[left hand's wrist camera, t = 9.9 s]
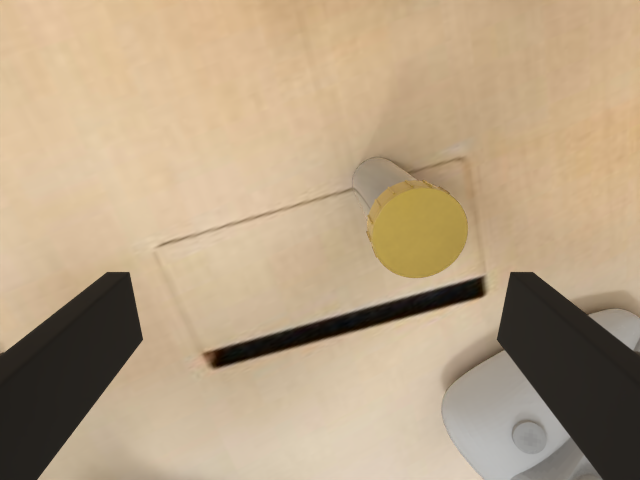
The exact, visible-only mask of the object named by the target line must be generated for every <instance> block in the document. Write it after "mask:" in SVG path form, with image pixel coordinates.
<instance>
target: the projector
mask: <svg viewBox="0 0 640 480" xmlns="http://www.w3.org/2000/svg"><path fill="white" fill-rule="evenodd" d="M588 316H589V317H591V318H592V319H593V320H595V321H596V322H597V323H598V324H600V325H601V326H602V327H603V328H605V329H606V330H607V331H609V332H610V333H611V334H612V335H614V336H615V337H616V338H618V339H619V340H620V341H621V342H623V343H624V344H625V345H626V346H628V347H629V348H630V349H632V350H633V351H638V352H640V318H639V317H638V316H637V315H635V314H633V313H631V312H629V311H626V310H623V309H608V310H603V311H599V312H596V313H592V314H589V315H588ZM441 412H442V418H443V422H444V424H445V427H446V430H447V432H448V434H449V436H450V438H451V440H452V441H453V443H454V445H455V446H456V448H457V449H458V450H459V452H460V453H461V454H462V456H463V457H464V458H465V459H466V461H467V462H468V463H469V464H470V465H471V466H472V468H473V469H474V470H475V471H476V472H477V473H478V474H479V475H480V476H481V477H482V478H483V479H484V480H603V479H602V478H601V476H600V475H599V474H598V473H597V471H596V470H595V469H594V467H593V466H592V465H591V463H590V462H589V461H588V459H587V458H586V457H585V455H584V454H583V453H582V451H581V450H580V449H579V447H578V446H577V445H576V443H575V442H574V441H573V439H572V438H571V437H570V435H569V434H568V433H567V432H566V430H565V429H564V428H563V426H562V425H561V424H560V422H559V421H558V420H557V418H556V417H555V416H554V414H553V413H552V412H551V410H550V409H549V408H548V406H547V405H546V404H545V402H544V401H543V400H542V398H541V397H540V396H539V394H538V393H537V392H536V391H535V389H534V388H533V387H532V385H531V384H530V383H529V381H528V380H527V379H526V377H525V376H524V375H523V373H522V372H521V371H520V369H519V368H518V367H517V365H516V364H515V363H514V361H513V360H512V359H511V357H510V356H509V355H508V353H507V352H506V351H505V350H503V351H501V352H499V353H498V354H496V355H494V356H492V357H491V358H489V359H487V360H485V361H484V362H482V363H481V364H479V365H477V366H476V367H474V368H473V369H471V370H470V371H468V372H467V373H465V374H464V375H463V376H461V377H460V378H459V379H457V380H456V381H455V382H454V383H453V384H452V385H451V386H450V387H449V388H448V390H447V391H446V393H445V395H444V398H443V400H442V407H441Z"/></svg>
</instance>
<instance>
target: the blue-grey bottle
mask: <svg viewBox="0 0 640 480" xmlns="http://www.w3.org/2000/svg"><path fill="white" fill-rule="evenodd" d="M405 180H407V181H410V180H417V179H416V178H414V177H413V176H411V175H410V174H409V173H407V172H406V171H404V170H403V169H401V168H400V167H398V166H397V165H396V164H394V163H393V162H391V161H390V160H388V159H385V158H380V157H376V158H371V159H368V160H366V161H364V162H363V163H362V164H360V165H359V167H358V168H357V169H356V171H355V173H354V175H353V180H352V186H353V190H354V193H355V195H356V197H357V200H358V202H359V204H360V206H361V209H362V211H363V213H364V215H365V218H366V220H367V221H368V217H367V215H369V212H370V209H371V207H372V205H373V203H374V202H375V201H374V200H375V199H377V198H378V197H379V196H380V195H381V193H383V192H384V191H385V190H386V189H388V187H391V186H393V185H395V184H397V183H400V182H404V181H405Z"/></svg>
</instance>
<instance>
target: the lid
mask: <svg viewBox="0 0 640 480" xmlns="http://www.w3.org/2000/svg"><path fill="white" fill-rule="evenodd" d="M449 194H450V193H449V192H447V191H446V190H444V189H443V188H441V187H437V186H435V185H433V184H431V183H428V182H427V181H425V180H423V181H419V180H410V181H407V180H405V181H404V182H400V183H397V184H395V185H393V186H391V187H388V189H386V190H385V191H384V192H383V193H381V195H380V196H379V197H378V198H377V199H375V200H374V201H375V202H374V203H373V205H372V207H371V209H370V212H369V215H367V217H368V221H367V230H368V231H366V232H367V235H368V238H369V240H370V242H371V244H372V248H373V250H374V253H375V255H376V257H378V259H379V260H380V262H381V263H382V264H383V265H384V266H385V267H386V268H387V269H388V270H390V271H392V272H393V273H395V274H398V275H400V276H403V277H409V278H423V277H428V276H431V275H434V274H437V273H439V272H441V271H442V270H444V269H446V268H447V267H448V266H450V265H451V264H452V263H453V262H454V261H455V260H456V259H457V257H458V256H459V255H460V253H461V252H462V250H463V248H464V245H465V243H466V239H467V234H468V223H467V218H466V215H465V212H464V210H463V208H462V207H461V205H460V204H459V203H458V201H456V200H455V199H454V198H453V197H452V196H451V195H449Z"/></svg>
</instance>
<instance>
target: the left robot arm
mask: <svg viewBox="0 0 640 480" xmlns="http://www.w3.org/2000/svg"><path fill="white" fill-rule="evenodd" d="M142 340H143V337H142V332H141V327H140V322H139V317H138V312H137V307H136V302H135V297H134V292H133V287H132V282H131V278H130V273H129V272H107V273H105V274H104V275H103V276H102V277H100V278H99V279H98V280H97V281H95V282H94V283H93V284H91V285H90V286H89V287H88V288H86V289H85V290H84V291H83V292H81V293H80V294H79V295H77V296H76V297H75V298H74V299H72V300H71V301H70V302H68V303H67V304H66V305H65V306H63V307H62V308H61V309H60V310H58V311H57V312H56V313H54V314H53V315H52V316H51V317H49V318H48V319H47V320H45V321H44V322H43V323H42V324H40V325H39V326H38V327H37V328H35V329H34V330H33V331H31V332H30V333H29V334H28V335H26V336H25V337H24V338H22V339H21V340H20V341H19V342H17V343H16V344H15V345H14V346H12V347H11V348H10V349H8V350H7V351H6V352H5V353H1V354H0V480H37V479H38V478H39V476H40V475H41V474H42V473H43V471H44V470H45V469H46V467H47V466H48V465H49V463H50V462H51V461H52V459H53V458H54V457H55V455H56V454H57V453H58V451H59V450H60V449H61V447H62V446H63V445H64V443H65V442H66V441H67V439H68V438H69V437H70V435H71V434H72V433H73V432H74V430H75V429H76V428H77V426H78V425H79V424H80V422H81V421H82V420H83V418H84V417H85V416H86V414H87V413H88V412H89V410H90V409H91V408H92V406H93V405H94V404H95V402H96V401H97V400H98V398H99V397H100V396H101V394H102V393H103V392H104V391H105V389H106V388H107V387H108V385H109V384H110V383H111V381H112V380H113V379H114V377H115V376H116V375H117V373H118V372H119V371H120V369H121V368H122V367H123V365H124V364H125V363H126V361H127V360H128V359H129V357H130V356H131V355H132V353H133V352H134V351H135V350H136V348H137V347H138V346H139V344H140V343H141V342H142ZM497 340H498V342H499V343H500V344H501V346H502V347H503V348H504V350H505V351H506V352H507V353H508V355H509V356H510V357H511V359H512V360H513V361H514V363H515V364H516V365H517V367H518V368H519V369H520V371H521V372H522V373H523V375H524V376H525V377H526V379H527V380H528V381H529V383H530V384H531V385H532V387H533V388H534V389H535V391H536V392H537V393H538V394H539V396H540V397H541V398H542V400H543V401H544V402H545V404H546V405H547V406H548V408H549V409H550V410H551V412H552V413H553V414H554V416H555V417H556V418H557V420H558V421H559V422H560V424H561V425H562V426H563V428H564V429H565V430H566V432H567V433H568V434H569V435H570V437H571V438H572V439H573V441H574V442H575V443H576V445H577V446H578V447H579V449H580V450H581V451H582V453H583V454H584V455H585V457H586V458H587V459H588V461H589V462H590V463H591V465H592V466H593V467H594V469H595V470H596V471H597V473H598V474H599V475H600V476H601V478H602V479H603V480H640V352H638V351H633V350H632V349H630V348H629V347H628V346H626V345H625V344H624V343H623V342H621V341H620V340H619V339H618V338H616V337H615V336H614V335H612V334H611V333H610V332H609V331H607V330H606V329H605V328H603V327H602V326H601V325H600V324H598V323H597V322H596V321H595V320H593V319H592V318H591V317H589V316H588V315H587V314H586V313H584V312H583V311H582V310H580V309H579V308H578V307H577V306H575V305H574V304H573V303H572V302H570V301H569V300H568V299H566V298H565V297H564V296H563V295H561V294H560V293H559V292H557V291H556V290H555V289H554V288H552V287H551V286H550V285H549V284H547V283H546V282H545V281H543V280H542V279H541V278H540V277H538V276H537V275H536V274H535V273H533V272H511V273H510V278H509V282H508V287H507V292H506V297H505V302H504V307H503V312H502V317H501V322H500V327H499V332H498V337H497Z"/></svg>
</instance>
